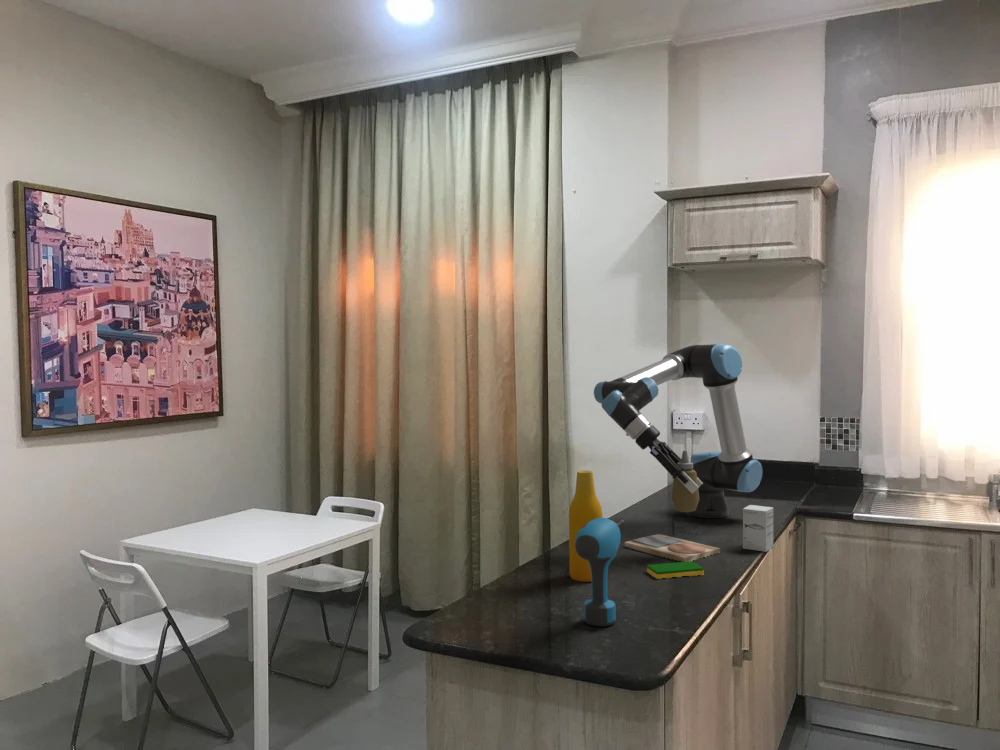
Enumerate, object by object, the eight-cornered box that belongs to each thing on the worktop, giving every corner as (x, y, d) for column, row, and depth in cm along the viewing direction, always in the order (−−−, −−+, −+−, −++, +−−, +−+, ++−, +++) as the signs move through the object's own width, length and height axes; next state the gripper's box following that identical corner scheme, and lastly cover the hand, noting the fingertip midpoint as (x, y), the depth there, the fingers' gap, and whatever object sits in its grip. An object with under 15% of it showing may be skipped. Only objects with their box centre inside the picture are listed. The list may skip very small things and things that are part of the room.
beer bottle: (610, 578, 207) (609, 471, 206) (583, 584, 202) (581, 475, 201) (589, 570, 215) (587, 467, 214) (562, 576, 210) (560, 471, 209)
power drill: (606, 595, 192) (605, 503, 192) (640, 599, 189) (639, 506, 188) (567, 633, 167) (565, 528, 166) (605, 639, 163) (603, 531, 163)
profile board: (659, 538, 249) (659, 533, 249) (719, 553, 230) (719, 547, 229) (624, 546, 239) (624, 541, 239) (684, 562, 220) (684, 556, 220)
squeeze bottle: (700, 508, 232) (699, 449, 231) (698, 514, 224) (697, 453, 224) (673, 507, 234) (672, 448, 234) (670, 512, 227) (669, 452, 226)
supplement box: (742, 549, 234) (741, 508, 233) (750, 544, 240) (750, 504, 239) (766, 552, 229) (766, 511, 229) (774, 547, 235) (773, 506, 235)
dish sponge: (646, 573, 212) (646, 564, 212) (692, 569, 215) (692, 560, 215) (656, 581, 205) (656, 572, 205) (704, 576, 208) (704, 567, 208)
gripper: (641, 437, 244) (694, 491, 238) (626, 444, 226) (682, 502, 220) (658, 421, 241) (711, 474, 235) (644, 427, 224) (701, 485, 218)
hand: (697, 488), depth 228 cm, fingers closed on squeeze bottle, 6 cm apart
